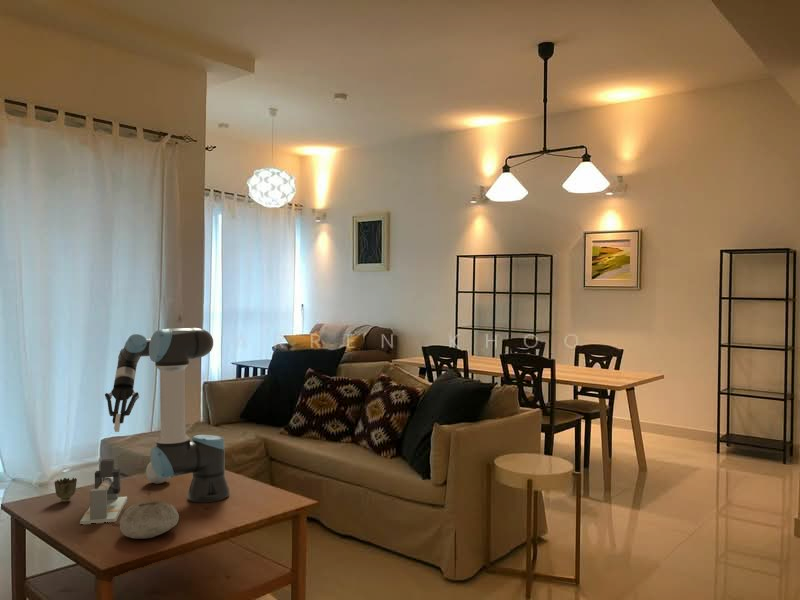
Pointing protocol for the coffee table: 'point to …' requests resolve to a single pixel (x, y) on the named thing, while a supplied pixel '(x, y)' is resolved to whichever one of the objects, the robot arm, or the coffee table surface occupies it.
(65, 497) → the cup
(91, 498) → the pipe stand
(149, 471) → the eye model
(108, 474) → the collar
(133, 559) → the coffee table surface
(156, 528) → the grey stone
